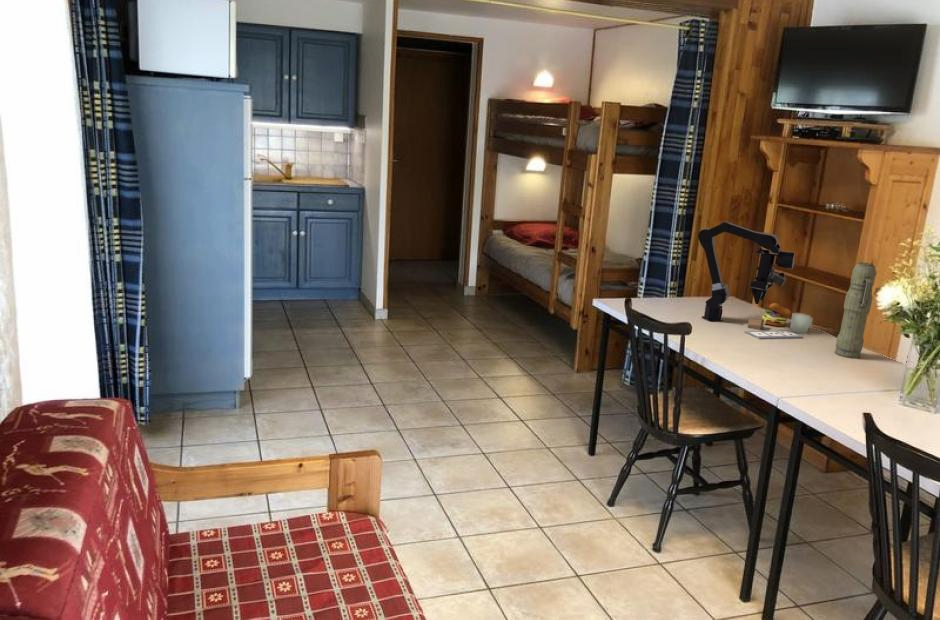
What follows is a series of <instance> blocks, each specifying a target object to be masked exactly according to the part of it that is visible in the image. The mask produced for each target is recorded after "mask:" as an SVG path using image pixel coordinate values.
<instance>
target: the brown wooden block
mask: <svg viewBox="0 0 940 620" xmlns="http://www.w3.org/2000/svg"><path fill="white" fill-rule="evenodd" d="M763 323H764V319H762V317H756V316H751V317H749V318H748V323H747V327H746V328H747V329H752V330H755V331H762V329H763V327H764V324H763Z"/></svg>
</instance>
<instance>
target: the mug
mask: <svg viewBox="0 0 940 620" xmlns="http://www.w3.org/2000/svg"><path fill="white" fill-rule="evenodd" d="M813 319H814V318H813V317H811V315H810V314H807V313H802V312H793V313H792V315H791V319H790V324H789V325H790V326H789V330H788V331H790V332H793V333H795V334H799V335H801V334H802V335H803V334H809V333H808V332H809V328H812V325H813Z"/></svg>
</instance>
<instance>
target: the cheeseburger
mask: <svg viewBox="0 0 940 620" xmlns="http://www.w3.org/2000/svg"><path fill="white" fill-rule="evenodd" d="M768 308H769V309H770V310H768V309H767V310H765V311H764V312H763V315H762V316H761V319H764V323H763V325H770V326H775V327H784V326H785V324H786V323H787V321H788V319H789V318H790V317H791V316H792V315H791V311H790V309H789V308H787V307H783V306H781V304H779V303H776V302H773V303H771V304H770V305H769V306H768Z"/></svg>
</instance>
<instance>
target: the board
mask: <svg viewBox="0 0 940 620" xmlns="http://www.w3.org/2000/svg"><path fill="white" fill-rule="evenodd" d="M744 333H745V334H747V335H749V336H751V337H753V338H756V339H758V340H776V339H777V340H779V339H780V340H782V339H786V338H788V339H804V336H802V335H801V334H799V333H795V332H792V331H790V330H788V329H787V330H785V329H784V330H745V331H744Z"/></svg>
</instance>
